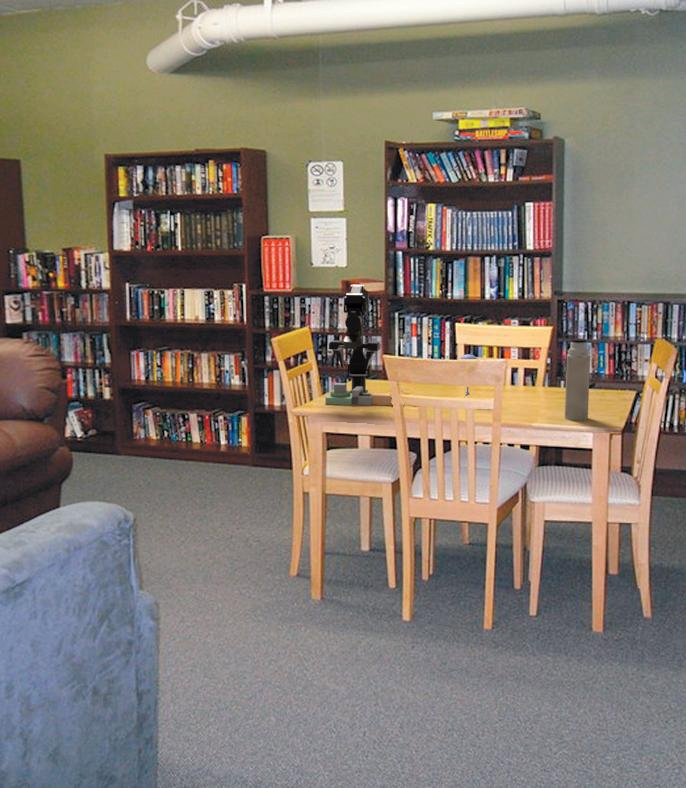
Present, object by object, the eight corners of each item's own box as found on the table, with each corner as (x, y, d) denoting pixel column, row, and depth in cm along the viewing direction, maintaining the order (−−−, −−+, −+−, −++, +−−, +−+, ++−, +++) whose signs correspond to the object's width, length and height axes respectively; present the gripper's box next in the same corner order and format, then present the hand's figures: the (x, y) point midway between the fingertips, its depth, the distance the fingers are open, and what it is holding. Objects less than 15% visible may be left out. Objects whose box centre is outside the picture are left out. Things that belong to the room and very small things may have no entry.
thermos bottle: (562, 416, 380) (564, 337, 375) (584, 415, 381) (587, 337, 376) (567, 420, 373) (570, 340, 368) (590, 420, 373) (593, 340, 368)
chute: (373, 401, 409) (373, 388, 409) (402, 402, 407) (402, 389, 406) (370, 404, 404) (370, 391, 403) (400, 405, 401) (400, 392, 400)
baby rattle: (462, 398, 416) (463, 352, 413) (482, 400, 412) (483, 353, 409) (452, 401, 409) (453, 355, 406) (473, 403, 405) (474, 356, 401)
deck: (332, 399, 416) (332, 381, 414) (376, 400, 412) (376, 382, 410) (325, 404, 405) (325, 385, 404) (370, 405, 401) (370, 387, 400)
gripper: (324, 329, 393) (325, 371, 396) (374, 330, 388) (374, 372, 391) (332, 325, 403) (332, 366, 406) (380, 326, 399) (380, 368, 402)
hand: (354, 368), depth 401 cm, fingers open, 9 cm apart
